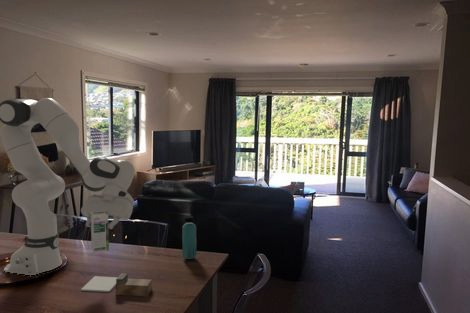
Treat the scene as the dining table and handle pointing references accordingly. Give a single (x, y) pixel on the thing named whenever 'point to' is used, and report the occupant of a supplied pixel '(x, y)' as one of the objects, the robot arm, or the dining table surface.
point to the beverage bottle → (189, 238)
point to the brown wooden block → (132, 286)
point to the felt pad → (100, 284)
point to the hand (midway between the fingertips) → (98, 227)
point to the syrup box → (99, 231)
